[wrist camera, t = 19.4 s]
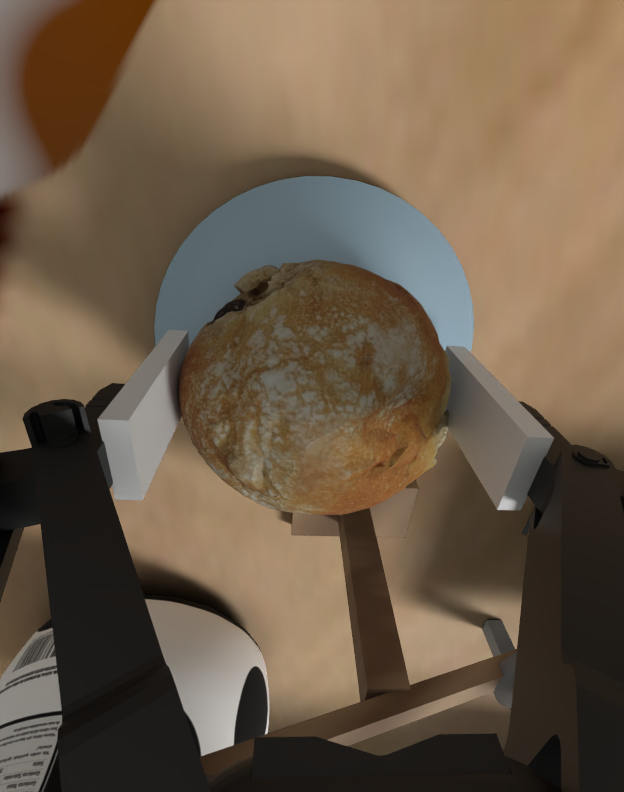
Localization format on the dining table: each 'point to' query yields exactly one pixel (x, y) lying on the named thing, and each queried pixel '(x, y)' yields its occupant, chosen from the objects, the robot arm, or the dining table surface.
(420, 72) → the dining table surface
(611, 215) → the dining table surface
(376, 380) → the bread roll
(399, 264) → the plate
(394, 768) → the robot arm
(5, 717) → the milk container
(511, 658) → the balance
